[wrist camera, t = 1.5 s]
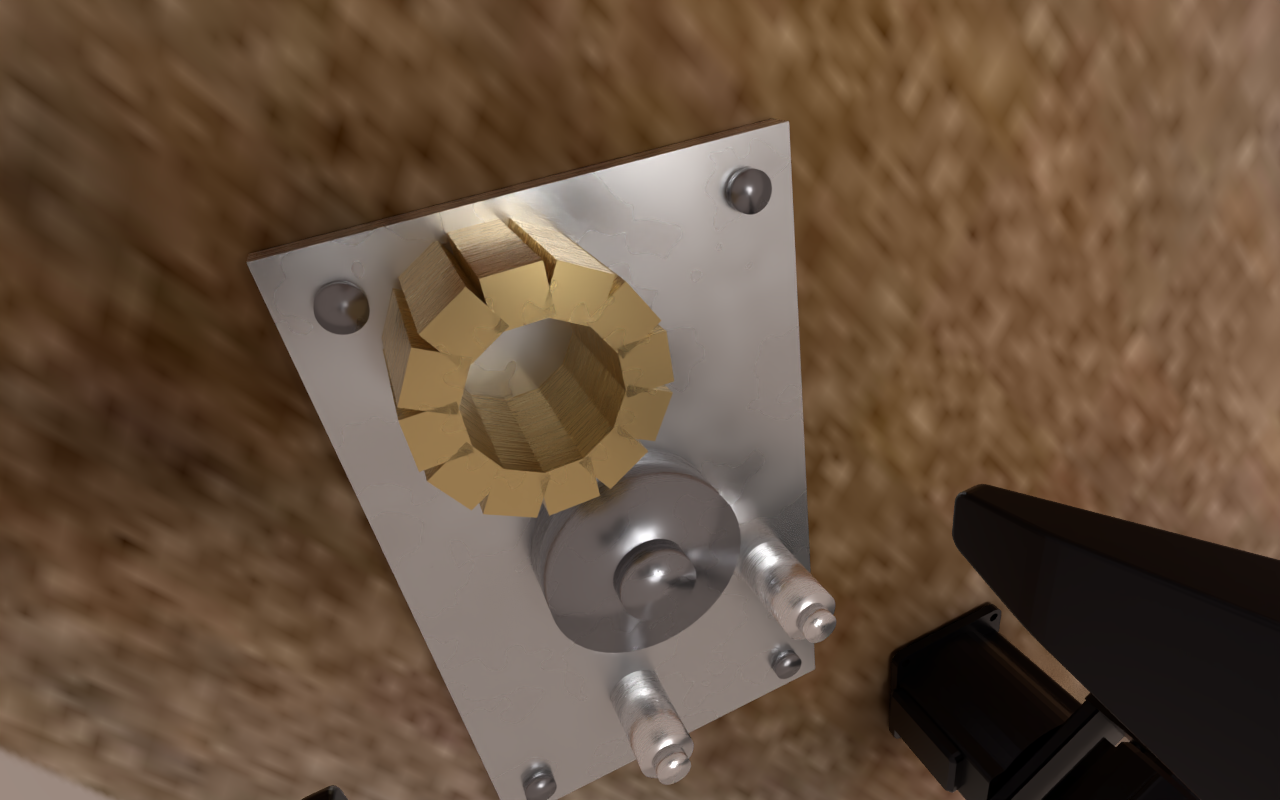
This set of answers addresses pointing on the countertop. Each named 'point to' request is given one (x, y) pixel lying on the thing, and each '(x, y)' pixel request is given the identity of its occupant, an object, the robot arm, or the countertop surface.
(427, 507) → the carrier plate
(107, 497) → the countertop surface
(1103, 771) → the robot arm
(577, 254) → the planet gear
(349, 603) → the countertop surface
